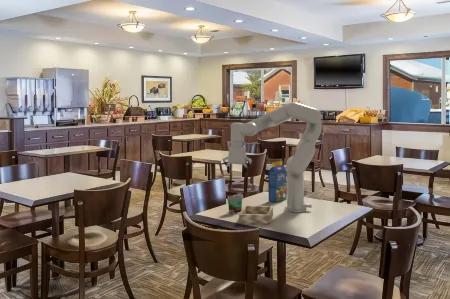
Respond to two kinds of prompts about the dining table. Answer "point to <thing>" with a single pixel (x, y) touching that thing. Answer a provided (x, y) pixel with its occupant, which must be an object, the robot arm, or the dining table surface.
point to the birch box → (256, 215)
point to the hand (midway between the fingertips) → (237, 173)
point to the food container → (235, 203)
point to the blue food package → (277, 182)
